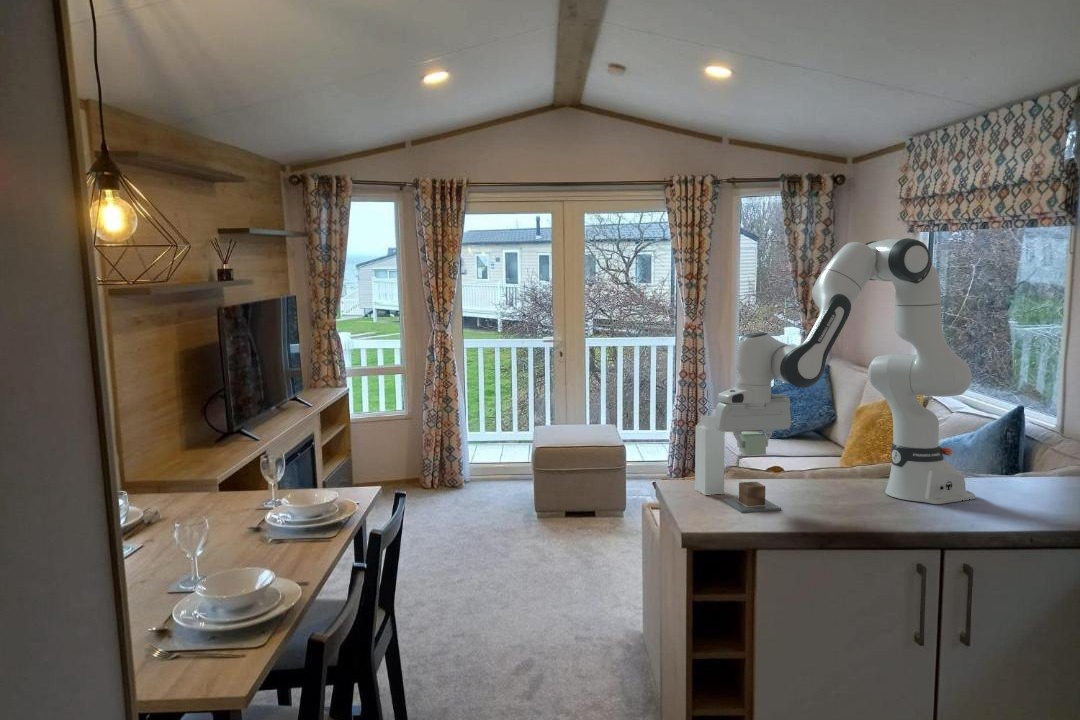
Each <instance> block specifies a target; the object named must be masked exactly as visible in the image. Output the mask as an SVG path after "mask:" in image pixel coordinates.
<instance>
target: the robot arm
mask: <svg viewBox="0 0 1080 720" xmlns="http://www.w3.org/2000/svg"><path fill="white" fill-rule="evenodd" d="M869 281H881V282H892V283H893V286H894V289H895V295H894V331H895V332H896V334H897V336H898V337H900V339H902V340H903V341H905V342H908V343H910V344H911V345H912V346H913V348H914V349H915V351H916V354H909V353H908V354H907V353H889V354H883V355H878V356H875V357H874V358H873V359H872V360H871V362H870V364H869V365H868V368H867V377H868V380H869V383H870V385H871V386H872V387H873V388H874V389H875V390H876V391H878V392H879V393H880V394H881V395H882V396H883V398H884V399H885V401H886V403H887V404H888V406H889V409H890V412H891V415H892V430H893V431H892V432H893V433H892V437H893V438H892V443H891V446H890V459H891V466H890V467H891V468H890V472H889V473H890V474H889V477H888V481H887V486H886V488H885V491H884V493H885V494H886V495H888V496H890V497H893V498H896V499H900V500H904V501H905V500H906V501H909V502H910V501H911V502H919V503H920V502H921V503H926V504H933V505H942V504H949V503H955V502H963V501H968V500H969V499H970V500H975V499H976V495H975V494H974V493H973V491H972V492H971V491H970V490H967V488H966V480H965V477H964V475H963V473H961V472H960V471H959V470H957V468H955V467H953V465H952V464H950V463H949V462H948V461H946V460H945V458H944V455H946V456H952V454H953V450H952V448H949V447H945V446H944V447H941V446H940V445H939V436H940V435H939V434H940V421H939V417H937V415H936V414H935V413H934V412H933V411H931V410H930V409H928V408H926V407H925V406H923V405H922V403H920V401H919V397H918V396H928V397H940V398H945V397H946V398H947V397H955V396H961V395H963V394H965V392H967V390H968V389H969V387H970V386H971V383H972V378H973V376H972V370H971V368H970V366H969V364H968V363H967V362H966V361H965V360H964V359H963V358H961V357H960V356H959V355H957V354H956V353H955V352H954V351H953V350H952V349H951V347H950V345H948V342H947V340H946V338H945V335H944V331H943V321H942V292H941V283H940V277H939V273H938V270H937V269H936V267H935V266H934V265H932V257H931V253H930V250H929V248H928V247H927V245H926V244H925V243H924V242H923V241H921V240H917V239H914V238H909V237H908V238H907V237H906V238H887V239H883V240H878V241H877V240H873V241H872V240H871V241H869V242H866V243H862V242H858V241H851V242H848V243H846V244H845V245H843V246H842V247H841V248H840V249H839V250H838V251H837V252H836V254H834V255H833V257H832V258H831V259H830V260H829V262H827V264H826V266H825V267H824V268H823V269H822V271H821V273H820V274H819V276H818V277H817V278H816V281H815V283H814V284H813V287H812V290H811V296H812V300H813V302H814V304H815V305H816V307H818V309H819V314H818V318H816V320H815V323H814V325H813V327H811V330H810V332H809V333H808V335H807V337H806V339H805V340H804V341H803V342H802V343H800V344H799V345H796V346H794V345H790V344H787V343H785V342H782V341H780V340H778V339H776V338H775V337H773V336H771V335H770V333H768V332H765V331H762V332H761V331H760V332H753V333H748V334H745V335H743V336H741V337H740V338H739V341H738V344H737V350H736V351H737V352H736V364H735V365H736V370H737V378H736V381H735V386H734V387H732V388H729V389H727V390H724V391H722V392H719V393H718V394H717V399H718V401H719V402H718V403H717V404H716V407H715V412H714V415H715V419H714V426H715V428H716V429H717V430H719V431H722V432H725V433H726V432H732V435H733V437H734V438H735V440H736V447H737V448H738V449H739V448H745V441H743V440H742V439H741V437H740V435H741V433H743V432H745V431H746V432H747V431H748V432H749V431H750V432H751V431H763V433H764V435H766V448H768V446H769V440H770V438H771V437H772V435H773V431H774V430H789V429H790V427H791V426H792V417H791V416H792V415H791V409H790V407H791V398H790V397H789V396H788V395H786V393H779V394H777V393H776V394H775V393H772V381H773V380H777V381H780V382H783V383H786V384H790V385H792V386H794V387H797V388H802V389H805V388H808V387H812V386H813V385H816V383H818V382H819V380H820V379H821V378H822V376H823V374H824V372H825V368H826V362H827V359H828V356H829V353H830V351H831V350H832V347H833V346H834V345H835V342H836V341H837V339H838V337H839V335H840V334H841V332H842V330H843V328H844V326H845V324H846V323H847V320H848V318H849V316H850V313H851V311H852V307H853V305H854V303H855V302H856V300H857V299H858V298H859V296H860V294H861V292H862V291H863V289H864V288H865V286H866V285H867V283H868V282H869ZM962 500H963V501H962ZM970 500H969V501H970Z"/></svg>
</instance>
